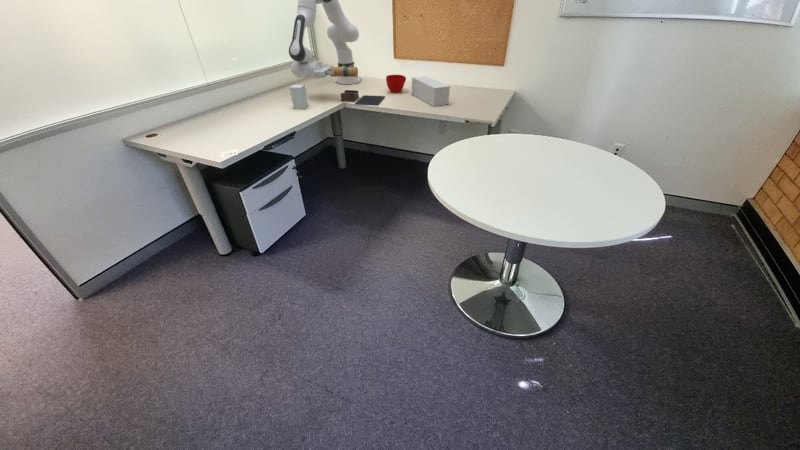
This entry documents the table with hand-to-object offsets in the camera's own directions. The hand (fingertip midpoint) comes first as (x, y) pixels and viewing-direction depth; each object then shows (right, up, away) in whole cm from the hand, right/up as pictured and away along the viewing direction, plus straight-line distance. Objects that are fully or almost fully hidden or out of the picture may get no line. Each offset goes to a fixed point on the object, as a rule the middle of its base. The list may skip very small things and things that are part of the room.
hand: (336, 71), depth 209 cm
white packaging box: (-21, -25, -5) cm, 33 cm away
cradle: (+8, -15, +9) cm, 19 cm away
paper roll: (+5, -1, -1) cm, 5 cm away
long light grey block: (+60, -14, +9) cm, 63 cm away
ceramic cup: (+39, -2, +25) cm, 47 cm away
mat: (+21, -16, +7) cm, 27 cm away
